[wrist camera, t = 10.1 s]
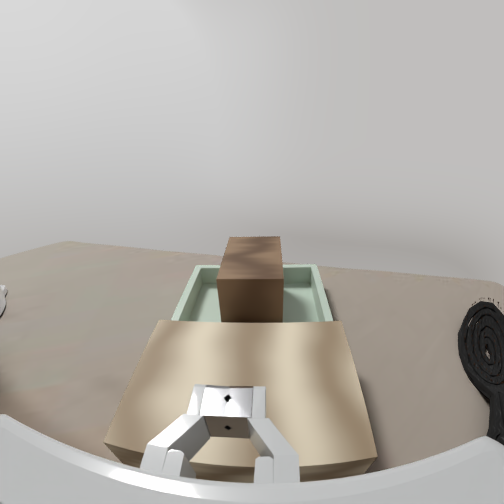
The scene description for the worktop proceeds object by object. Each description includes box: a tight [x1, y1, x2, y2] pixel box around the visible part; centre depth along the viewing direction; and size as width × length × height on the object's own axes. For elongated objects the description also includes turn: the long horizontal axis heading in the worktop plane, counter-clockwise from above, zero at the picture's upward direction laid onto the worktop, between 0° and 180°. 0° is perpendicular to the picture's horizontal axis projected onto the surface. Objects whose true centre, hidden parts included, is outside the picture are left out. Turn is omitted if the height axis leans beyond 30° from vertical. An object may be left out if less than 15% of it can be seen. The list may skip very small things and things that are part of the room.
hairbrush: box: [458, 298, 504, 445], centre depth 17 cm, size 8×4×25 cm
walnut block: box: [216, 237, 284, 323], centre depth 31 cm, size 6×7×10 cm
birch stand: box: [104, 320, 378, 483], centre depth 19 cm, size 16×13×5 cm
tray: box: [171, 264, 333, 323], centre depth 33 cm, size 16×13×3 cm
